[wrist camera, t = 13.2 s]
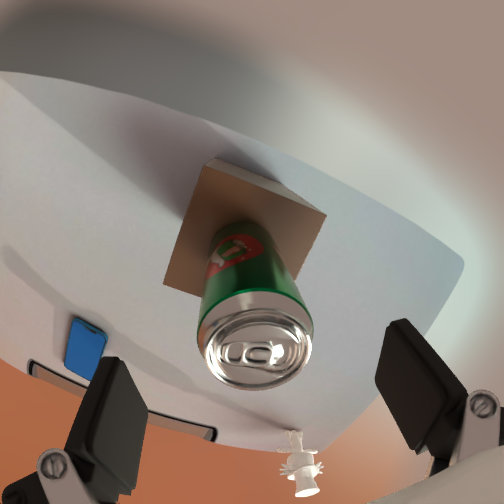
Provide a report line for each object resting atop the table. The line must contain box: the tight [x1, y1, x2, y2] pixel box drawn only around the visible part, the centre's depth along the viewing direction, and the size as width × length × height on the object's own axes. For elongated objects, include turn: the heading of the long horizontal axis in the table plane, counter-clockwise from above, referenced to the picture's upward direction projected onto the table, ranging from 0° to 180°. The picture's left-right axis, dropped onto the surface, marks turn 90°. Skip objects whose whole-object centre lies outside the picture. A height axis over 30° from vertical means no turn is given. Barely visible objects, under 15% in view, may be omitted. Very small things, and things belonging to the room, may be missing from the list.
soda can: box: [197, 221, 314, 391], centre depth 17 cm, size 5×5×12 cm
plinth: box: [163, 158, 327, 298], centre depth 31 cm, size 10×10×18 cm
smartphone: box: [64, 318, 108, 381], centre depth 45 cm, size 7×1×15 cm
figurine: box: [277, 430, 323, 497], centre depth 50 cm, size 10×8×18 cm
